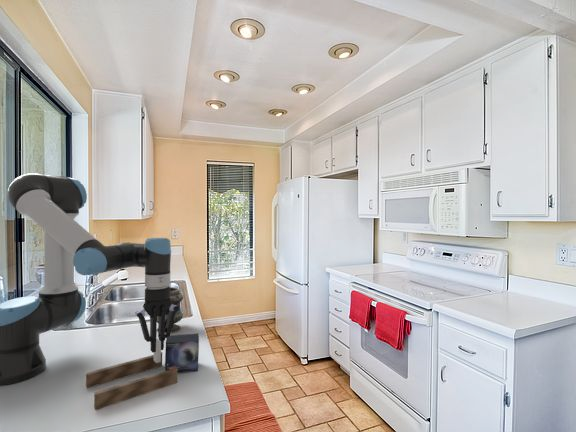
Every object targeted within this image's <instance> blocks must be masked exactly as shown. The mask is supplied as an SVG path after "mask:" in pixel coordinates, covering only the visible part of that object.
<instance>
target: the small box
mask: <svg viewBox="0 0 576 432" xmlns="http://www.w3.org/2000/svg"><path fill="white" fill-rule="evenodd" d="M199 343H200V336H199V333H187V334H185V333H183V334H175V335H173V334H172V335H171V334H170V336H169V337H167V338H165V356H164V371H167V370H169V368H170V367H173V366H176V367H177V374H180V373H189V372H198V371H199V350H200V344H199Z"/></svg>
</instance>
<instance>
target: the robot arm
mask: <svg viewBox="0 0 576 432" xmlns="http://www.w3.org/2000/svg"><path fill="white" fill-rule="evenodd" d="M87 195H88V193H87V190H86V188H85V186H84V184H82V182H81V181H80V180H79V179H77V178H72V177H68V176H59V175H49V174H41V173H26V174H22V175H20V176H17V177H16V178H15V179H14V180H13V181H12V182H11V183H10V184H9V186H8V189H7V198H8V201H9V203H10V204H11V206H12V207H13V209H15V210H16V211H17V212H18V213H19V214H20V215H23V216H26V217H29V218H30V219H31V220H32V221H33V222H34V223H36V224H37V225H38V226H39V227H40V228H41V229H42V230H44V255H43V256H44V265H43V266H44V269H43V270H44V272H43V274H44V276H43V279H44V281H43V283H44V284H43V287H42V288H41V289H39V291H38V296H34V295H28V296H22V297H16V298H12V299H9V300H6V301H3V302H1V303H0V386H6V385H11V384H16V383H19V382H23V381H26V380H29V379H30V378H33V377H36V376H38V375H39V374H41V373H42V372H43V371H44V370H45V369H46V368H47V361H46V360H47V359H46V356H45V355H44V353H43V351H42V348H41V346H40V334H43V333H46V332H49V331H53V330H55V329H58V328H61V327H65V326H68V325H70V324H73V323H74V322H77V321H78V320H80V318H82V316H83V315H84V314H85V310H86V305H87V304H86V303H87V302H86V297H84V293H83V292H82V291H80V290H79V287H78V286H77V285H76V284H75V283H74V269H75V271H76V273H77V274H79V275H82V276H91V275H93V276H94V275H99V274H102V273H107V272H111V271H117V270H122V269H127V268H132V267H133V268H135V267H136V268H137V267H138V268H144V287H145V289H144V304H143V305H142V308H141V309H140V310H136V311H135V316H136V317H137V318H138V321H139V323H140V324H139V325H140V328H141V331H142V335H143V339H144V340H145V341H146V342H147V343H149V342H150V351H151V352H152V353H153V355H154V361H155V362H156V363H159V362H161V352H162V351H163V350H165V349H164V348H165V342H166V338H167V337H169V336H170V335H171V334H172V333H171V330H172V326H173V321H174V317H175V314H176V312H177V310H178V306H176V305H173V304H172V302H171V300H170V287H171V258H172V250H171V247H172V246H171V240H170V238H167V237H148V238H146V239H145V241H144V243H135V242H120V243H119V242H118V243H117V244H116V245H115V244H114V245H104V244H103V243H102V242H101V241H99V240H98V239H97V238H96V237H94V236H93V235H92V234H91V233H90V232H89V231H87V229H86V228H84V227H83V226H82V225H80V223H78V221H76V220H75V218H76V217H77V216H79V214H80V209H82V208H83V207H84V206H85V204H86V203H87V198H88V196H87ZM168 309H169V310H170V311H169V314H168V318H167V323H166V327H165V314H166V312H167V311H168ZM146 314H147V315H148V316H149V319H150V320H149V325H150V326H149V328H148V324H147V320H146V318H145V316H146ZM157 317H158V323H157ZM157 325H158V326H157ZM157 328H158V332H157ZM157 337H158V338H157Z"/></svg>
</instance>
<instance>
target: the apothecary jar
mask: <svg viewBox="0 0 576 432" xmlns="http://www.w3.org/2000/svg"><path fill="white" fill-rule="evenodd" d="M169 287H170V300H171V302H172V304H173V305H176V306H178V310H177V312H176V314H175V317H174V321H173V326H172V330H171V332H172V333H175V331H176V332H178V331H179V330H180V329H181V327H180V325H178V324H177V323H178V322H180V321H181V320H182V319H183V316H184V313H183V312H182V311H181V302H182V301H183V300H184V294H183V293H181V292H180V288H179V287H177V286H176V287H175V286H173V287H172V286H169ZM169 311H170V310H169V309H168V311H167V312H166V314H165V327H166V323H167V318H168V314H169ZM157 324H158V317H157ZM177 330H178V331H177ZM157 333H158V327H157Z"/></svg>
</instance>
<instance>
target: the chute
mask: <svg viewBox="0 0 576 432" xmlns="http://www.w3.org/2000/svg"><path fill="white" fill-rule="evenodd" d="M160 367H163V352H162V351H161V362H159V363H156V362H155V361H154V354H151V355H148V356H144V357H141V358H136V359H133V360H129V361H125V362H122V363H118V364H114V365H111V366H106V367H103V368H99V369H95V370H91V371H88V372H86V373H85V387H86V389H89V388H93V387H96V386H99V385H102V384H106V383H109V382H113V381H117V380H119V379H122V378H127V377H130V376H134V375H136V374H140V373H143V372H147V371H150V370H155V369H158V368H160ZM177 383H178V373H177V367H176V366H173V367H170V368H169V370H167V371H165V370H163V371H159V372H157V373H154V374H151V375H147V376H145V377H139V378H137V379H134V380H130V381H128V382H127V381H126V382H124V383H121V384H117V385H114V386H111V387H107V388H104V389H101V390H98V391H95V392H94V393H93V394H94V395H93V396H94V397H93V400H94V403H93V405H94V406H93V407H94V410H95V411H96V410H99V409H103V408H106V407H108V406H111V405H113V404H117V403H120V402H124V401H127V400H129V399H132V398H135V397H138V396H142V395H143V394H147V393H149V392H153V391H155V390H160V389H162V388H165V387H168V386H171V385H173V384H174V385H175V384H177Z"/></svg>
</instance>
